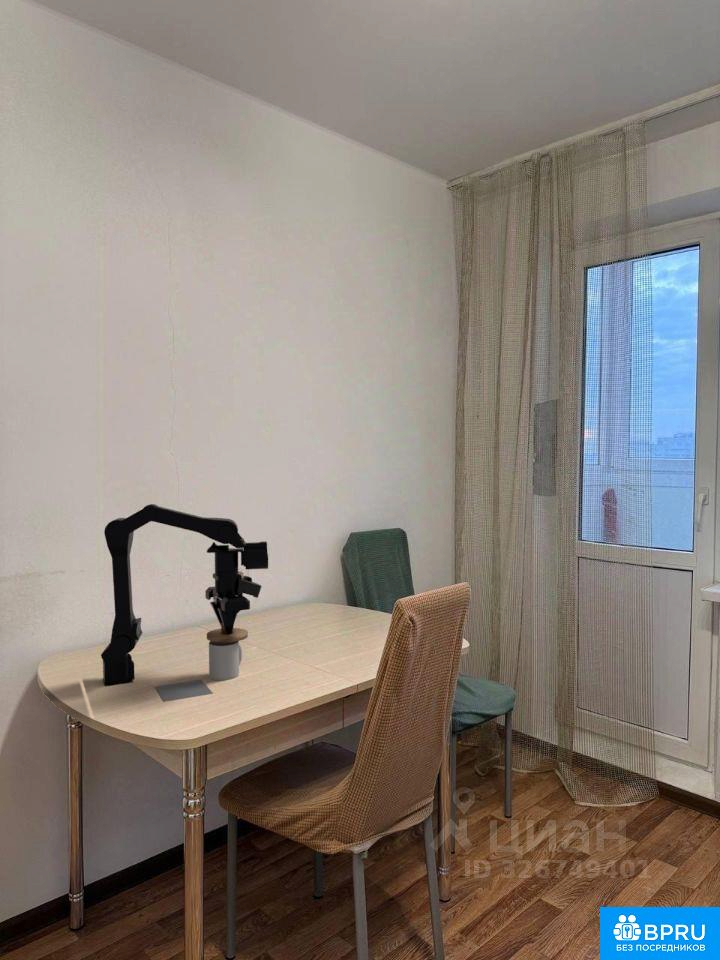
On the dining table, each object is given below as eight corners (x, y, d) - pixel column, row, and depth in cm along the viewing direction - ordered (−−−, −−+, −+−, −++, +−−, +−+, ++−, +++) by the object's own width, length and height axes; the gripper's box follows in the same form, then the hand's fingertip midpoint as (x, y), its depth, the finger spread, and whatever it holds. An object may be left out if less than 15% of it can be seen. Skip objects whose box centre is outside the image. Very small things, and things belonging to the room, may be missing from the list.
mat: (163, 704, 148) (163, 701, 148) (154, 689, 158) (154, 686, 158) (213, 695, 153) (212, 693, 153) (201, 681, 163) (200, 679, 163)
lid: (213, 644, 160) (212, 629, 160) (202, 634, 169) (202, 621, 169) (253, 639, 165) (253, 624, 164) (240, 630, 173) (240, 616, 173)
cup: (203, 679, 164) (202, 643, 164) (230, 668, 173) (229, 634, 173) (225, 684, 161) (225, 647, 161) (252, 672, 170) (251, 637, 169)
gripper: (270, 573, 162) (270, 637, 162) (246, 562, 178) (246, 620, 179) (225, 576, 156) (225, 643, 157) (204, 565, 173) (205, 625, 173)
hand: (227, 632), depth 167 cm, fingers closed on lid, 3 cm apart
